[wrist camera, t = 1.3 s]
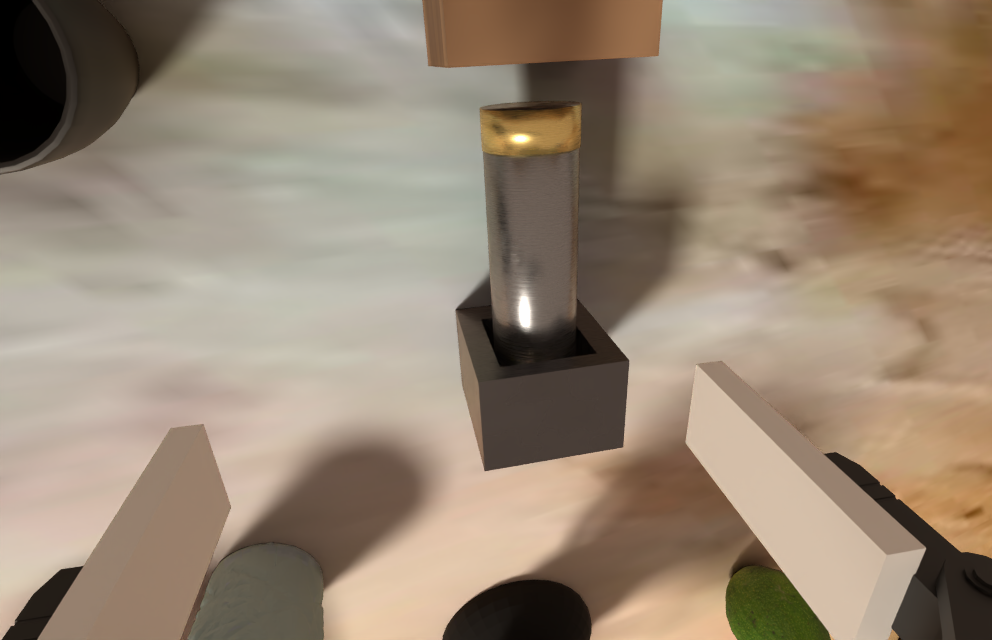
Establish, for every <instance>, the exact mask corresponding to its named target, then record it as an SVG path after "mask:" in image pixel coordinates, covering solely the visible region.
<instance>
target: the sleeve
mask: <svg viewBox="0 0 992 640" xmlns="http://www.w3.org/2000/svg"><path fill="white" fill-rule="evenodd" d="M456 320H457V332H458V343H459V354H460V366H461V377H462V386H463V390H464V393H465V397H466V401H467V405H468V409H469V413H470V416H471V420H472V424H473V428H474V432H475V436H476V439H477V443H478V447H479V451H480V455H481V459H482V462H483V466H484V470H485V471H489V470H494V469H500V468H506V467H512V466H518V465H523V464H529V463H535V462H541V461H547V460H552V459H558V458H564V457H570V456H575V455H581V454H587V453H593V452H599V451H604V450H610V449H616V448H622V447H623V441H624V427H625V413H626V399H627V385H628V371H629V360H628V358H627V357H626V356H625V355H624V354H623V352H622V351H621V350H620V349H619V348H618V347H617V345H616V344H615V343H614V342H613V341H612V339H611V338H610V337H609V336H608V335H607V333H606V332H605V331H604V330H603V329H602V327H601V326H600V325H599V324H598V323H597V322H596V320H595V319H594V318H593V317H592V316H591V314H590V313H589V312H588V311H587V310H586V308H585V307H584V306H583V305H582V304H581V302H580V301H579V300H578V299H577V305H576V354H575V357H569V358H562V359H555V360H548V361H541V362H534V363H527V364H520V365H513V366H506V367H500V366H499V364H498V361H497V359H496V356H495V354H494V338H493V320H492V305H489V306H481V307H473V308H465V309H457V310H456Z"/></svg>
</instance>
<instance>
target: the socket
mask: <svg viewBox="0 0 992 640" xmlns="http://www.w3.org/2000/svg"><path fill="white" fill-rule="evenodd" d="M422 1H423V12H424V23H425V33H426V44H427V55H428V66H435V67H446V68H451V67H469V66H487V65H505V64H523V63H541V62H559V61H577V60H595V59H613V58H631V57H649V56H658V55H659V41H660V28H661V15H662V2H663V0H422Z"/></svg>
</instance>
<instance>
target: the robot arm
mask: <svg viewBox="0 0 992 640" xmlns="http://www.w3.org/2000/svg"><path fill="white" fill-rule="evenodd" d="M686 444H687V446H688V447H689V448H690V450H691V451H692V452H693V454H694V455H695V456H696V458H697V459H698V460H699V461H700V463H701V464H702V465H703V467H704V468H705V469H706V471H707V472H708V473H709V475H710V476H711V477H712V479H713V480H714V481H715V483H716V484H717V485H718V487H719V488H720V489H721V490H722V492H723V493H724V494H725V496H726V497H727V498H728V500H729V501H730V502H731V504H732V505H733V506H734V508H735V509H736V510H737V512H738V513H739V514H740V516H741V517H742V518H743V519H744V521H745V522H746V523H747V525H748V526H749V527H750V529H751V530H752V531H753V533H754V534H755V535H756V537H757V538H758V539H759V541H760V542H761V543H762V545H763V546H764V547H765V548H766V550H767V551H768V552H769V554H770V555H771V556H772V558H773V559H774V560H775V562H776V563H777V564H778V566H779V567H780V568H781V570H782V571H783V572H784V573H785V575H786V576H787V577H788V579H789V580H790V581H791V583H792V584H793V585H794V587H795V588H796V589H797V591H798V592H799V593H800V595H801V596H802V597H803V599H804V600H805V601H806V602H807V604H808V605H809V606H810V608H811V609H812V610H813V612H814V613H815V614H816V616H817V617H818V618H819V620H820V621H821V622H822V624H823V625H824V626H825V628H826V629H827V630H828V631H829V633H830V634H831V635H832V637H833V638H834V639H835V640H888V638H889V636H890V633H891V631H892V629H893V630H894V631H895V632H896V633H897V635H898V636H899V637H900V638H901V639H902V640H992V559H991V558H989V557H986V556H984V555H979V554H974V553H969V552H963V553H961V552H960V551H959V550H957V549H956V548H955V547H954V546H953V545H952V544H950V543H949V542H948V541H947V540H946V539H945V538H944V537H942V536H941V535H940V534H939V533H938V532H937V531H935V530H934V529H933V528H932V527H931V526H930V525H929V524H927V523H926V522H925V521H924V520H923V519H922V518H920V517H919V516H918V515H917V514H916V513H915V512H914V511H912V510H911V509H910V508H909V507H908V506H907V505H905V504H904V503H903V502H902V501H901V500H900V499H898V500H897V499H896V498H895V495H894V494H893V493H892V492H890V491H889V490H888V489H887V488H886V487H885V486H883V485H882V486H881V485H880V482H879V481H878V480H877V479H875V478H874V477H873V476H872V475H871V474H870V473H868V472H867V471H866V470H865V469H864V468H863V467H862V466H860V465H859V464H857V463H855V462H853V461H851V460H849V459H847V458H846V457H844V456H842V455H840V454H838V453H836V452H834V453H827V454H823V453H822V452H821V451H820V450H819V449H817V448H816V447H815V446H814V445H813V444H812V443H811V442H810V441H809V440H808V439H807V438H805V437H804V436H803V435H802V434H801V433H800V432H799V431H798V430H797V429H796V428H795V427H793V426H792V425H791V424H790V423H789V422H788V421H787V420H786V419H785V418H784V417H782V416H781V415H780V414H779V413H778V412H777V411H776V410H775V409H774V408H773V407H772V406H770V405H769V404H768V403H767V402H766V401H765V400H764V399H763V398H762V397H761V396H760V395H758V394H757V393H756V392H755V391H754V390H753V389H752V388H751V387H750V386H749V385H748V384H746V383H745V382H744V381H743V380H742V379H741V378H740V377H739V376H738V375H737V374H735V373H734V372H733V371H732V370H731V369H730V368H729V367H728V366H727V365H726V364H725V363H723V362H722V361H718V362H709V363H701V364H696V370H695V378H694V385H693V392H692V399H691V406H690V414H689V421H688V428H687V435H686ZM230 509H231V505H230V502H229V499H228V496H227V493H226V490H225V487H224V484H223V481H222V478H221V475H220V472H219V469H218V466H217V463H216V460H215V457H214V454H213V451H212V448H211V445H210V442H209V439H208V436H207V433H206V430H205V427H204V424H201V425H193V426H185V427H176V428H171V429H170V430H169V432H168V434H167V435H166V437H165V438H164V440H163V441H162V443H161V445H160V446H159V448H158V449H157V451H156V452H155V454H154V456H153V457H152V459H151V460H150V462H149V464H148V465H147V467H146V468H145V470H144V471H143V473H142V475H141V476H140V478H139V479H138V481H137V483H136V484H135V486H134V487H133V489H132V490H131V492H130V494H129V495H128V497H127V498H126V500H125V501H124V503H123V505H122V506H121V508H120V509H119V511H118V513H117V514H116V516H115V517H114V519H113V520H112V522H111V524H110V525H109V527H108V528H107V530H106V532H105V533H104V535H103V536H102V538H101V539H100V541H99V543H98V544H97V546H96V547H95V549H94V550H93V552H92V554H91V555H90V557H89V558H88V560H87V562H86V563H85V565H84V566H81V567H74V568H67V569H61V570H60V571H59V572H58V573H56V574H55V575H54V576H53V577H52V578H51V579H50V580H49V581H48V582H46V583H45V584H44V585H43V586H42V587H41V588H40V589H39V590H38V591H36V592H35V593H34V594H33V596H32V597H31V598H30V600H29V601H28V603H27V604H26V606H25V607H24V609H23V610H22V611H21V613H20V614H19V616H18V617H17V619H16V620H15V625H14V626H11V627H10V629H9V630H8V632H7V633H6V634H5V636H4V637H3V639H2V640H180V639H181V637H182V634H183V632H184V629H185V626H186V624H187V621H188V618H189V616H190V613H191V611H192V608H193V605H194V603H195V600H196V598H197V595H198V592H199V590H200V587H201V585H202V582H203V579H204V577H205V574H206V571H207V569H208V566H209V564H210V561H211V558H212V556H213V553H214V551H215V548H216V545H217V543H218V540H219V537H220V535H221V532H222V530H223V527H224V524H225V522H226V519H227V517H228V514H229V511H230Z"/></svg>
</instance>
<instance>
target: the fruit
mask: <svg viewBox="0 0 992 640" xmlns="http://www.w3.org/2000/svg"><path fill="white" fill-rule="evenodd" d="M726 615H727V618H728V621H729V624H730V627H731V630H732V632H733V634H734V635H735V637H736V638H737V640H831V639H830V636H829V632H828V630H827V629H826V628H825V626H824V625H823V624H822V622H821V621H820V620H819V618H818V617H817V616H816V614H815V613H814V612H813V610H812V609H811V608H810V606H809V605H808V604H807V602H806V601H805V600H804V599H803V597H802V596H801V595H800V593H799V592H798V591H797V589H796V588H795V587H794V585H793V584H792V583H791V581H790V580H789V579H788V577H787V576H786V575H785V573H783V572H781V571H779V570H775V569H771V568H767V567H764V566H758V565H752V566H747V567H744V568H742V569H740V570H739V571H738V572H737V573H735V574H734V575H733V577H732V578H731V579H730V581H729V584H728V586H727V590H726Z"/></svg>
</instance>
